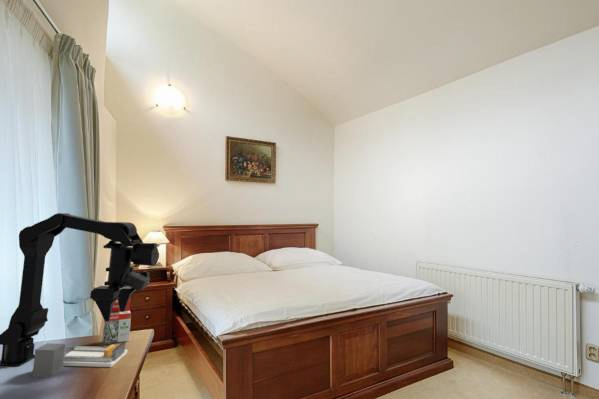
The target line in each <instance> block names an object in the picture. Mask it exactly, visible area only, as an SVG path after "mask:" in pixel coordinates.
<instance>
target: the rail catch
mask: <svg viewBox="0 0 599 399" xmlns="http://www.w3.org/2000/svg"><path fill="white" fill-rule="evenodd" d="M116 345H117V344H116V343H111V344H110V345H109V346H107V347H108V348H106V349H105V350H104V357H110V356H111V355H112V350H113V349H115V347H117V346H116Z"/></svg>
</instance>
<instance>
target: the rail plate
mask: <svg viewBox="0 0 599 399" xmlns="http://www.w3.org/2000/svg"><path fill="white" fill-rule="evenodd" d="M108 347H109V346H89V345H88V346H87V345H85V346H83V345H81V346H80V345H76V346H74V347H73V348H74V349H72V350H71V351H69V352H67V353H66V354H64V362H63V367H94V368H95V367H98V368H112V367H113V366H114V365H116V363H118V362H119V361H120V360H121V359H122V358H123V357H125V355H126V354H128V349H127V348H126V341H125V342H120V344H118V345H117V346H115V349H113V350H112V355H111V356H110V357H104V350H105V349H106V348H108Z"/></svg>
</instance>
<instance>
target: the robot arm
mask: <svg viewBox="0 0 599 399" xmlns="http://www.w3.org/2000/svg"><path fill="white" fill-rule="evenodd" d="M65 229H72V230H77V231H81V232H85V233H86V232H88V233H92V234H96V235H97V234H98V235H99V236H102V237H104V239H107V240H109V241H108V242H107V243H106V244H105V245H103V246H102V248H103V249H108V250H109V249H110V256H109V257H110V258H109V264H108V267H106V268H105V272H108V274H107V275H108V276H107V281H103V282H104V284H103V285H100V286H97V287H94V288H93V289H92V290H90V296H89V299H90V300H92V301H93V302H94V303H95V304H96V306H97V308H98V309H99V312H100V314H101V316H102V318H103V320H104V321H109V320H110V316H111V312H112V308H113V303H114V302H118V303H119V308H120V311H121V312H124V311H125V309H126V306H127V304H128V301H129V299H130V297H132V294H133V293H134V292H135V291H137V292H138V291H139V292H141V291H143V290H145V289H147V286H148V284H149V283H150V282H151V277H150V272H149V271H147V270H144V271H142V272H135V271H134V270H135V267H134V266H131V265H132V263H133V265H137V266H148V267H149V266H151V267H155V266H156V265H157V263H158V260H159V259H160V258H159V256H160V253H159V250H158V249H159V248H158V246H157V245H158V243H156V242H151V243H148V242H146V243H145V242H144V241H143V240H142V238H141V237H140V235H139V234H138V229H137V227H136V225H135V224H134V223H133V222H128V221H127V222H125V221H124V222H123V221H102V220H97V219H93V218H90V217H89V218H88V217H83V216H79V215H72V214H70V213H64V212H63V213H62V212H61V213H59V212H58V213H55V214H53V215H51V216H50V217H48V218H46V219H44V220H41V221H38V222H36V223H34V224H33V225H29V226H26V227H24V228H23V229H21V230H20V231H19V234H18V246H19V249H20V250H21V253H22V254H23V256H24V257H23V258H24V259H23V266H22V272H21V273H22V275H21V284H20V292H19V299H18V301H19V302H18V306H17V308H16V309H15V311H14V312H13V313H12V315H11V317H10V319H9V323H8V327H7V328H6V329H5V330H4V331H3V332H2V333H0V346H2V349H1V359H0V366H7V367H8V366H11V367H12V366H13V367H18V366H21V365H23V364H25V363H27V362H28V361H29V362H30V360H33V359H34V356H35V343H34V336H37V335H39V333H40V331H41V329H42V328H44V327H45V324H46V322H48V321H49V320H48V313H49V308H48V307H46V308H44V307H43V305H42V303H41V300H42V290H43V281H44V274H45V263H46V256H47V254H48V253H49V251H50V250H51V248H52V246H53V243H54V240H55V238H56V237H57V236H58V235H60V234H61V233H62V232H63V231H65ZM116 300H117V301H116ZM104 321H103V322H104Z"/></svg>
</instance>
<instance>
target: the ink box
mask: <svg viewBox="0 0 599 399" xmlns="http://www.w3.org/2000/svg"><path fill="white" fill-rule="evenodd" d="M131 298H132V296H130V299H129V301H128V304H127V306H126V309H125V311H124V312H121V311H120V308H119V303H118V300H116V301H115V302H114V303H113V308H112V312H111V316H110V320H109V321H103V322H104V324H103V331H102V332H103V333H102V334H103V335H102V345H109V344H110V345H111V344H116V343H122V342H125V343H126V342H129V341H130V332H131V320H132V313H131V310H130V308H131Z"/></svg>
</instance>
